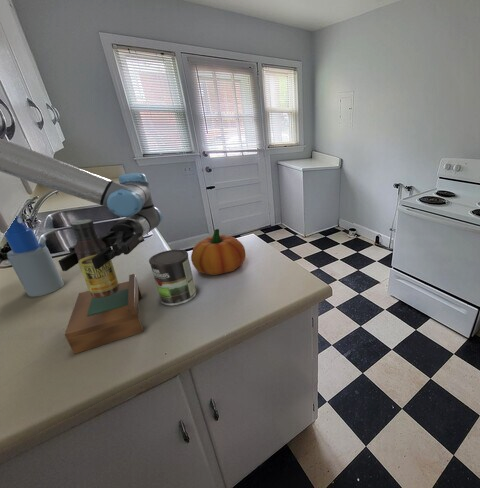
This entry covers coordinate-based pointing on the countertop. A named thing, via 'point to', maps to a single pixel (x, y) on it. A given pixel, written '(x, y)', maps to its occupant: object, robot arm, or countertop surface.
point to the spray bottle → (31, 260)
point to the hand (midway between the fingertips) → (78, 264)
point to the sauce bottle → (86, 248)
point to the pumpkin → (218, 254)
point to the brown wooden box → (104, 317)
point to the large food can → (173, 276)
